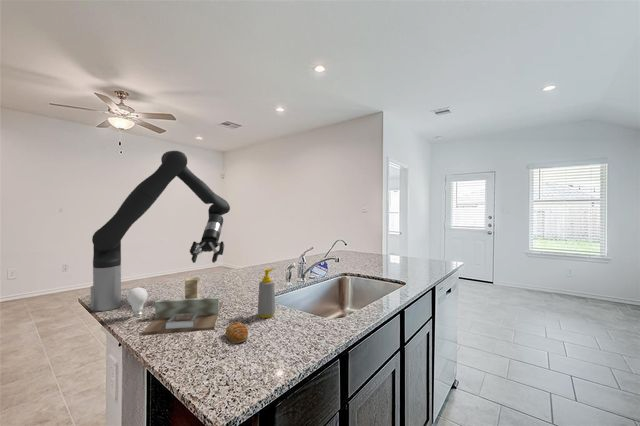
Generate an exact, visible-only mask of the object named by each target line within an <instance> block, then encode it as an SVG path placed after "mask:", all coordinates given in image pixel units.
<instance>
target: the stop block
mask: <svg viewBox="0 0 640 426" xmlns="http://www.w3.org/2000/svg"><path fill="white" fill-rule="evenodd" d="M200 279H201V278H200V276H199V277H198V276H197V277H187V278H186V279H185V280H184V299H189V298H201V297H200V290H201V289H200V281H201V280H200Z"/></svg>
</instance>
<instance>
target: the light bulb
mask: <svg viewBox="0 0 640 426" xmlns="http://www.w3.org/2000/svg"><path fill="white" fill-rule="evenodd" d="M148 296H149V295H148V291H147V290H146V288H143V287H135V288H132V289H131V290H129V292H128V294H127V296H126V300H127V303H128V304H129V305H130V307H131V309H132V311H133V312H132V315H133V316H139V315H142V314H143V309H144V304H145V303H146V301H147V300H148Z"/></svg>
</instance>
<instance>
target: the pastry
mask: <svg viewBox="0 0 640 426" xmlns="http://www.w3.org/2000/svg"><path fill="white" fill-rule="evenodd" d="M224 334H225V337H226V339H227V340H229V341H230V340H231V341H230V342H231V343H233V342H234V344H240V343H243V342H246V341H247V339H248V338H249V330H248V328H247V326H246V325H245V324H244V323H241V322H240V321H239V322H238V321H235V322H232V323H231V324H228V326H227V327H226V329H225V333H224Z"/></svg>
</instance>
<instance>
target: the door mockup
mask: <svg viewBox="0 0 640 426" xmlns="http://www.w3.org/2000/svg"><path fill="white" fill-rule="evenodd" d="M223 303H224V301H220V297H219V296H212V297H209V296H207V297H200V298H189V299H185V298H175V299H157V300H155V302H154V308H155V309H154V311H155V312H154V318H153V320H152V321H151V322H150V323H149V324H148V326H147V327H145V328H144V330H143V331H142V332H141V334H142V336H151V335H154V336H155V335H165V334H177V333H178V334H179V333H180V334H181V333H188V332H189V333H190V332H202V331H204V332H205V331H214V330H215V328H216V327H215V325H216V322H217V320H218V317H219V315H220V312H221V309H222V307H223V306H222V305H223ZM186 313H198V319H197V321H196V323H195V325H194V327H193V328H181V329H168V330H166V323H167V321H168V320H169V319H170V318H171V316H172V315H173V314H186ZM181 321H191V320H178V321H175V322H181Z"/></svg>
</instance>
